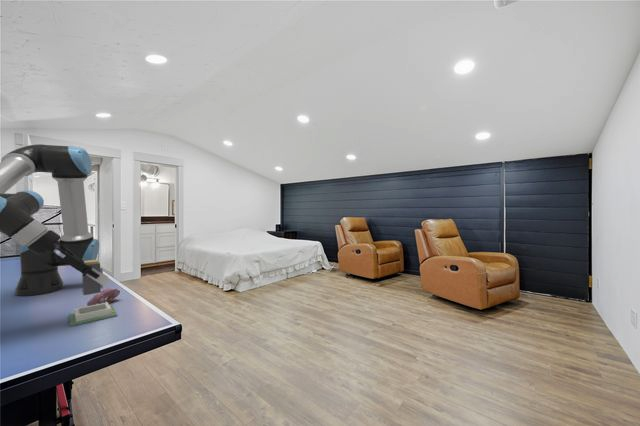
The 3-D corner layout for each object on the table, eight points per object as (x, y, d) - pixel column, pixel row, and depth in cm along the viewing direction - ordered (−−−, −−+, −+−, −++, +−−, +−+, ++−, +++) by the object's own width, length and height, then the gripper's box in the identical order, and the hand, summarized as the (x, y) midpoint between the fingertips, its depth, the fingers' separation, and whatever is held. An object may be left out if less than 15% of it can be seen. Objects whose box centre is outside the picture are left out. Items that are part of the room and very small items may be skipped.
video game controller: (93, 312, 103) (100, 296, 102) (84, 306, 104) (91, 290, 103) (117, 303, 113) (124, 288, 112) (109, 297, 113) (115, 283, 113)
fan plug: (82, 292, 95) (82, 261, 95) (101, 289, 99) (101, 259, 98) (83, 295, 92) (83, 262, 92) (103, 292, 95) (103, 260, 95)
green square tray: (68, 315, 96) (68, 308, 96) (111, 307, 104) (111, 300, 104) (70, 326, 87) (70, 318, 87) (117, 316, 96) (117, 308, 95)
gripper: (27, 244, 90) (93, 285, 102) (23, 250, 78) (99, 295, 89) (49, 227, 94) (111, 268, 106) (49, 230, 81) (118, 276, 93)
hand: (105, 280), depth 98 cm, fingers closed on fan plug, 4 cm apart
